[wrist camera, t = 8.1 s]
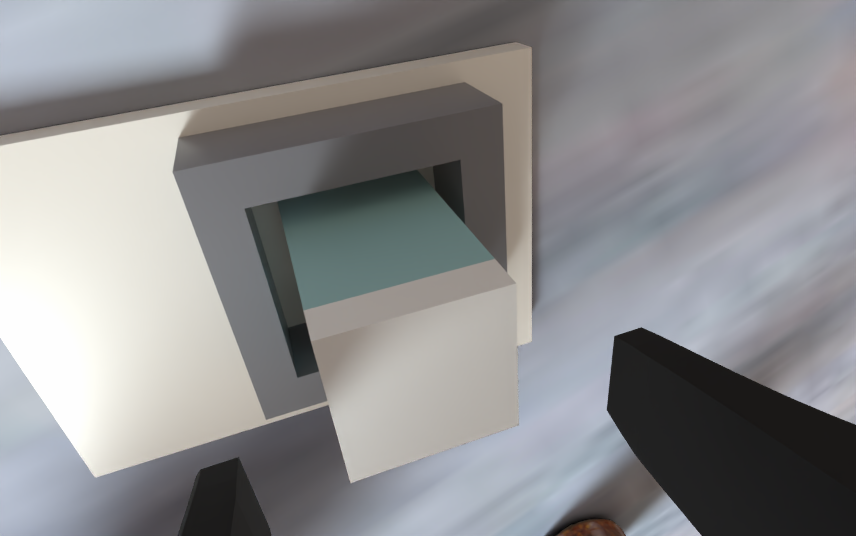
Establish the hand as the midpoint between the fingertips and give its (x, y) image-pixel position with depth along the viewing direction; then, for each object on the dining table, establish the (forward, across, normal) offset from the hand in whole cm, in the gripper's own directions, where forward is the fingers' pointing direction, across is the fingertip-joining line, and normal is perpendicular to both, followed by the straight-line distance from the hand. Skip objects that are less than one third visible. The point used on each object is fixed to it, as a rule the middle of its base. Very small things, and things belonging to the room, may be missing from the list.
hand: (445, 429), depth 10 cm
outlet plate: (+9, +2, +1) cm, 9 cm away
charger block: (+8, 0, 0) cm, 8 cm away
